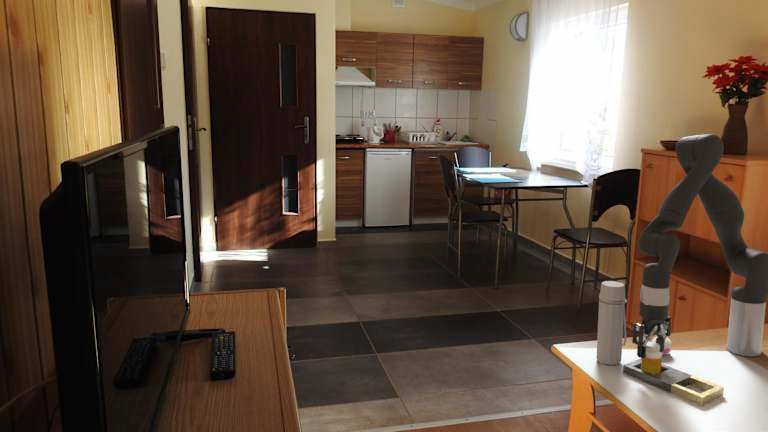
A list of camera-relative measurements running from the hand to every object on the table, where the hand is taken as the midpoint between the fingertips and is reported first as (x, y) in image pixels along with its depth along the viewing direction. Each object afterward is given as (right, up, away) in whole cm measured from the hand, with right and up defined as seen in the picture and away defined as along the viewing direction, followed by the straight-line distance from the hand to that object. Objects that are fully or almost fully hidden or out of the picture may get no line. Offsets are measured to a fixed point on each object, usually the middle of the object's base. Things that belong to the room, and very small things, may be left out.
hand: (650, 354), depth 163 cm
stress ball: (+10, -4, +16) cm, 20 cm away
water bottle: (-7, -5, +11) cm, 14 cm away
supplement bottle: (0, -7, +1) cm, 7 cm away
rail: (+4, -7, -4) cm, 9 cm away
